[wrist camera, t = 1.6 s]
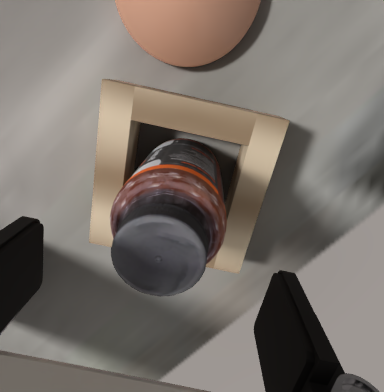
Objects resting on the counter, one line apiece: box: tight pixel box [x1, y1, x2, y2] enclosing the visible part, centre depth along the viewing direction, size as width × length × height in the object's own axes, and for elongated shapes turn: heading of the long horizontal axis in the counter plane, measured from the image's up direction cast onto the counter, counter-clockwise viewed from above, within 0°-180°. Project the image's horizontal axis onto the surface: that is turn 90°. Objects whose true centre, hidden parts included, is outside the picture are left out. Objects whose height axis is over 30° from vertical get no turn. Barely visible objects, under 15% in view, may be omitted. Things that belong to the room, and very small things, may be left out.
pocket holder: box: [89, 79, 290, 274], centre depth 20 cm, size 12×12×3 cm
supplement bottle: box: [110, 138, 227, 296], centre depth 16 cm, size 6×6×11 cm
